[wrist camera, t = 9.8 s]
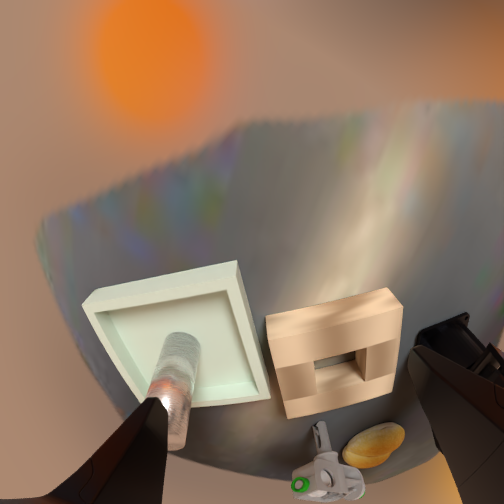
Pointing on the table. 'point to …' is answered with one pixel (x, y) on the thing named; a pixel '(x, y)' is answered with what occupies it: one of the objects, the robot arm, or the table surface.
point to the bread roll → (373, 445)
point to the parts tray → (184, 320)
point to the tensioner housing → (336, 351)
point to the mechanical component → (326, 474)
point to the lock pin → (176, 383)
